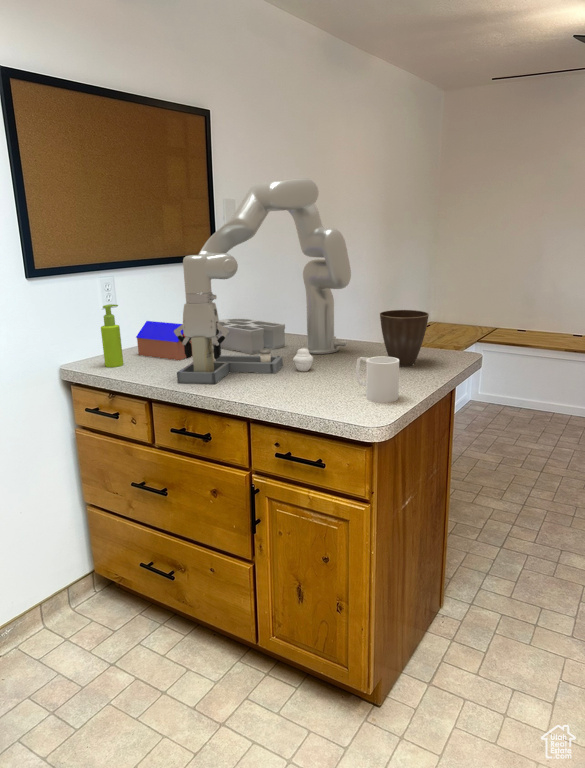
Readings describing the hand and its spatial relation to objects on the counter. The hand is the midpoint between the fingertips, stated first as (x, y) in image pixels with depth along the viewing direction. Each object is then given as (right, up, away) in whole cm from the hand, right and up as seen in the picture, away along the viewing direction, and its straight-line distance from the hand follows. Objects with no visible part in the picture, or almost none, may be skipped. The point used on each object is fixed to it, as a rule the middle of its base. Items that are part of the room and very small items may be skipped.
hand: (203, 357), depth 175 cm
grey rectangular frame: (+9, -3, +12) cm, 15 cm away
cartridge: (+18, -3, +10) cm, 21 cm away
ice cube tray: (+8, +6, +45) cm, 47 cm away
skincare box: (0, -6, +2) cm, 6 cm away
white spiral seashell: (+30, -4, +7) cm, 31 cm away
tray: (0, -6, +2) cm, 6 cm away
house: (-17, +2, +35) cm, 39 cm away
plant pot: (+62, -2, +12) cm, 63 cm away
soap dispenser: (-32, -2, +21) cm, 39 cm away
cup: (+48, -11, -22) cm, 54 cm away
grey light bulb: (+1, -3, +13) cm, 14 cm away
